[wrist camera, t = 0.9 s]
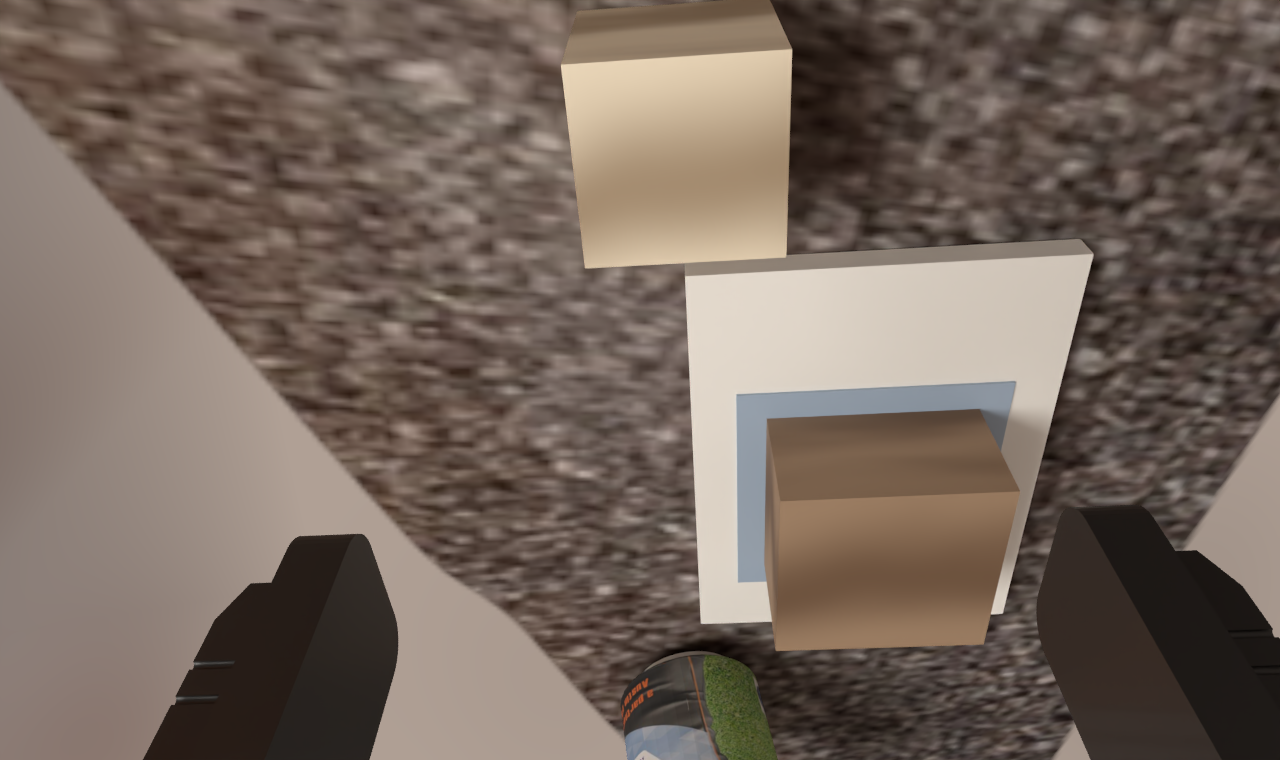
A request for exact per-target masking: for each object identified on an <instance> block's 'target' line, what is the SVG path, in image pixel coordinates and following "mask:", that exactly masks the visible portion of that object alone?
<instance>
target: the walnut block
mask: <svg viewBox="0 0 1280 760" xmlns="http://www.w3.org/2000/svg"><path fill="white" fill-rule="evenodd" d="M1019 495H1020V490H1019V488H1018V486H1017V484H1016V482H1015V480H1014V478H1013V476H1012V473H1011V471H1010V469H1009V467H1008V465H1007V463H1006V461H1005V459H1004V457H1003V455H1002V453H1001V451H1000V449H999V447H998V445H997V443H996V441H995V439H994V437H993V435H992V433H991V431H990V429H989V427H988V425H987V423H986V421H985V419H984V417H983V415H982V413H981V411H980V409H965V410H944V411H922V412H900V413H878V414H856V415H835V416H813V417H791V418H769V419H767V427H766V487H765V547H764V566H765V573H766V581H767V588H768V596H769V603H770V611H771V618H772V626H773V633H774V641H775V648H776V651H791V650H822V649H853V648H884V647H916V646H947V645H978V644H984V640H985V636H986V631H987V627H988V623H989V619H990V615H991V611H992V607H993V603H994V598H995V594H996V590H997V586H998V582H999V578H1000V574H1001V570H1002V565H1003V561H1004V557H1005V553H1006V549H1007V545H1008V541H1009V536H1010V532H1011V528H1012V524H1013V520H1014V516H1015V512H1016V508H1017V503H1018V499H1019Z"/></svg>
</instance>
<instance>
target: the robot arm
mask: <svg viewBox="0 0 1280 760" xmlns="http://www.w3.org/2000/svg"><path fill="white" fill-rule="evenodd" d="M1036 613H1037V626H1038V632H1039V637H1040V641H1041V644H1042V648H1043V651H1044V653H1045V656H1046V658H1047V660H1048V663H1049V665H1050V667H1051V669H1052V672H1053V674H1054V676H1055V679H1056V681H1057V683H1058V686H1059V688H1060V690H1061V692H1062V695H1063V697H1064V699H1065V702H1066V704H1067V706H1068V709H1069V711H1070V713H1071V715H1072V718H1073V720H1074V722H1075V725H1076V727H1077V729H1078V731H1079V734H1080V736H1081V738H1082V741H1083V743H1084V745H1085V748H1086V750H1087V752H1088V754H1089V757H1090V759H1091V760H1280V638H1278V637H1277V638H1275V637H1274V636H1273V633H1272V630H1273V629H1272V627H1271V626H1270V624H1269V623H1268V621H1267V620H1266V619H1265V617H1264V616H1263V614H1262V613H1261V612H1260V611H1259V609H1258V607H1257V606H1256V605H1255V603H1254V602H1253V600H1252V599H1251V598H1250V596H1249V595H1248V593H1247V592H1246V591H1245V589H1244V588H1243V586H1241V585H1240V584H1239V583H1238V582H1236V581H1235V580H1234V579H1233V578H1231V577H1230V576H1229V575H1227V574H1226V573H1225V572H1223V571H1222V570H1221V569H1220V568H1218V567H1217V566H1216V565H1215V564H1214V563H1212V562H1211V561H1210V560H1208V559H1207V558H1206V557H1205V556H1203V555H1202V554H1201V553H1199V552H1198V551H1197V550H1193V551H1175V550H1174V548H1173V547H1172V545H1171V544H1170V542H1169V541H1168V539H1167V538H1166V536H1165V535H1164V533H1163V532H1162V530H1161V529H1160V527H1159V526H1158V524H1157V523H1156V521H1155V520H1154V518H1153V517H1152V515H1151V514H1150V513H1149V512H1148V511H1147V510H1146V509H1145V508H1143V507H1142V506H1139V505H1120V506H1095V507H1071V508H1067V509H1065V510H1064V511H1063V513H1062V514H1061V516H1060V519H1059V522H1058V526H1057V529H1056V533H1055V536H1054V540H1053V544H1052V547H1051V551H1050V554H1049V558H1048V562H1047V565H1046V569H1045V572H1044V576H1043V580H1042V583H1041V587H1040V590H1039V594H1038V599H1037V612H1036ZM397 655H398V629H397V622H396V618H395V614H394V612H393V609H392V606H391V603H390V600H389V597H388V594H387V592H386V589H385V586H384V583H383V580H382V577H381V574H380V571H379V568H378V565H377V562H376V560H375V556H374V554H373V551H372V548H371V545H370V543H369V541H368V539H367V538H366V537H365V536H364V535H363V534H347V535H346V534H345V535H321V536H299V537H297V538H295V539H294V540H293V541H292V542H291V544H290V545H289V547H288V549H287V551H286V553H285V555H284V557H283V559H282V561H281V564H280V565H279V568H278V570H277V572H276V574H275V576H274V579H273V580H272V583H255V584H254V583H253V584H250V585H249V586H248V587H247V588H246V589H245V590H244V591H243V592H242V593H241V594H240V595H239V596H238V597H237V598H236V599H235V600H234V601H233V602H232V603H231V604H230V605H229V606H228V607H227V608H226V609H225V610H224V611H223V612H222V613H221V614H220V615H219V616H218V617H217V618H216V619H215V621H214V623H213V624H212V626H211V628H210V630H209V633H208V634H207V636H206V638H205V640H204V642H203V644H202V646H201V648H200V650H199V652H198V654H197V656H196V658H195V659H194V668H193V670H189V671H188V673H187V675H186V677H185V679H184V681H183V683H182V685H181V687H180V689H179V691H178V693H177V695H176V703H175V705H171V706H170V708H169V710H168V712H167V714H166V716H165V718H164V720H163V722H162V724H161V726H160V728H159V730H158V732H157V734H156V735H155V737H154V739H153V741H152V743H151V745H150V747H149V749H148V751H147V753H146V755H145V757H144V759H143V760H369V759H370V756H371V752H372V749H373V745H374V742H375V738H376V735H377V732H378V728H379V724H380V721H381V718H382V714H383V710H384V707H385V704H386V700H387V696H388V693H389V690H390V686H391V683H392V679H393V676H394V672H395V668H396V663H397Z"/></svg>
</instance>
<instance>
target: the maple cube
mask: <svg viewBox="0 0 1280 760" xmlns="http://www.w3.org/2000/svg"><path fill="white" fill-rule="evenodd" d="M561 69H562V78H563V86H564V95H565V103H566V111H567V120H568V128H569V136H570V145H571V153H572V162H573V170H574V178H575V187H576V195H577V204H578V212H579V220H580V229H581V237H582V245H583V254H584V262H585V268H602V267H620V266H639V265H657V264H675V263H693V262H712V261H730V260H748V259H766V258H785V257H786V249H787V214H788V179H789V145H790V110H791V75H792V47H791V45H790V43H789V41H788V39H787V36H786V34H785V32H784V30H783V28H782V25H781V23H780V21H779V19H778V17H777V14H776V12H775V10H774V8H773V6H772V3H771V1H770V0H723V1H709V2H695V3H681V4H667V5H653V6H639V7H625V8H611V9H596V10H582V11H577V14H576V18H575V21H574V24H573V27H572V31H571V34H570V37H569V40H568V43H567V47H566V50H565V53H564V56H563V60H562V63H561Z"/></svg>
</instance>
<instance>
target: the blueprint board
mask: <svg viewBox="0 0 1280 760" xmlns="http://www.w3.org/2000/svg"><path fill="white" fill-rule="evenodd" d="M1093 255H1094V254H1093V253H1092V251H1091V250H1090V249H1089V248H1088V247H1087V246H1086V245H1085V243H1084V242H1083V241H1082V240H1081V239H1067V240H1049V241H1031V242H1013V243H995V244H977V245H959V246H941V247H923V248H905V249H887V250H869V251H850V252H832V253H814V254H796V255H786V257H785V258H766V259H748V260H730V261H712V262H693V263H684V264H685V286H686V308H687V330H688V352H689V374H690V396H691V418H692V440H693V462H694V483H695V505H696V527H697V549H698V571H699V593H700V614H701V624H716V623H746V622H772V618H771V611H770V603H769V596H768V588H767V581H766V573H765V566H764V547H765V487H766V427H767V419H769V418H791V417H813V416H835V415H856V414H878V413H900V412H922V411H944V410H965V409H980V411H981V413H982V415H983V417H984V419H985V421H986V423H987V425H988V427H989V429H990V431H991V433H992V435H993V437H994V439H995V441H996V443H997V445H998V447H999V449H1000V451H1001V453H1002V455H1003V457H1004V459H1005V461H1006V463H1007V465H1008V467H1009V469H1010V471H1011V473H1012V476H1013V478H1014V480H1015V482H1016V484H1017V486H1018V488H1019V490H1020V495H1019V499H1018V503H1017V508H1016V512H1015V516H1014V520H1013V524H1012V528H1011V532H1010V536H1009V541H1008V545H1007V549H1006V553H1005V557H1004V561H1003V565H1002V570H1001V574H1000V578H999V582H998V586H997V590H996V594H995V598H994V603H993V607H992V611H991V614H1003V610H1004V606H1005V602H1006V598H1007V594H1008V590H1009V586H1010V582H1011V578H1012V574H1013V570H1014V566H1015V563H1016V559H1017V555H1018V551H1019V547H1020V543H1021V539H1022V535H1023V531H1024V527H1025V523H1026V519H1027V515H1028V511H1029V507H1030V503H1031V499H1032V495H1033V492H1034V488H1035V484H1036V480H1037V476H1038V472H1039V468H1040V464H1041V460H1042V456H1043V452H1044V448H1045V444H1046V440H1047V436H1048V432H1049V428H1050V425H1051V421H1052V417H1053V413H1054V409H1055V405H1056V401H1057V397H1058V393H1059V389H1060V385H1061V381H1062V377H1063V373H1064V369H1065V365H1066V361H1067V357H1068V354H1069V350H1070V346H1071V342H1072V338H1073V334H1074V330H1075V326H1076V322H1077V318H1078V314H1079V310H1080V306H1081V302H1082V298H1083V294H1084V290H1085V287H1086V283H1087V279H1088V275H1089V271H1090V267H1091V263H1092V259H1093Z"/></svg>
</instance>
